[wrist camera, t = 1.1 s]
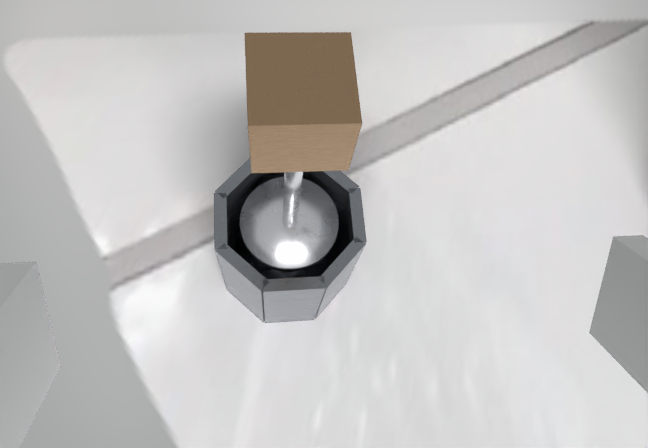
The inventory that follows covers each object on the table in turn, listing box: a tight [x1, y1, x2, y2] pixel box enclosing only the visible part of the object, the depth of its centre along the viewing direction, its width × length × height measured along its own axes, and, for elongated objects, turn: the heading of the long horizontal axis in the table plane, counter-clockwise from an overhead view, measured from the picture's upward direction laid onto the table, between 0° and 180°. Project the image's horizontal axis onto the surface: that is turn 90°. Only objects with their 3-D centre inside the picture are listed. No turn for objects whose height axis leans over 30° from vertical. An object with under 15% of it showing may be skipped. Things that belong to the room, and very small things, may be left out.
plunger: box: [240, 33, 362, 272], centre depth 29 cm, size 7×7×16 cm
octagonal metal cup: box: [214, 159, 366, 323], centre depth 40 cm, size 10×10×10 cm
